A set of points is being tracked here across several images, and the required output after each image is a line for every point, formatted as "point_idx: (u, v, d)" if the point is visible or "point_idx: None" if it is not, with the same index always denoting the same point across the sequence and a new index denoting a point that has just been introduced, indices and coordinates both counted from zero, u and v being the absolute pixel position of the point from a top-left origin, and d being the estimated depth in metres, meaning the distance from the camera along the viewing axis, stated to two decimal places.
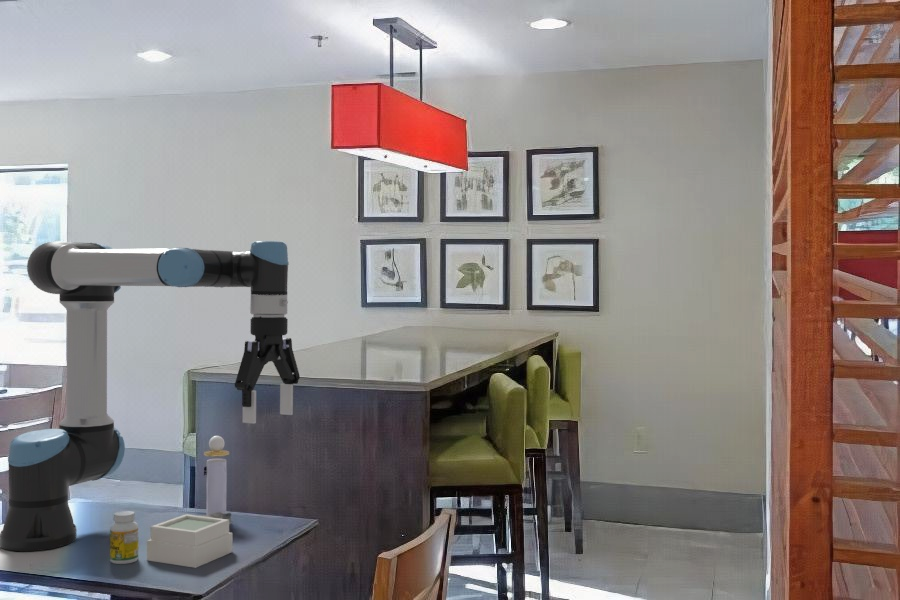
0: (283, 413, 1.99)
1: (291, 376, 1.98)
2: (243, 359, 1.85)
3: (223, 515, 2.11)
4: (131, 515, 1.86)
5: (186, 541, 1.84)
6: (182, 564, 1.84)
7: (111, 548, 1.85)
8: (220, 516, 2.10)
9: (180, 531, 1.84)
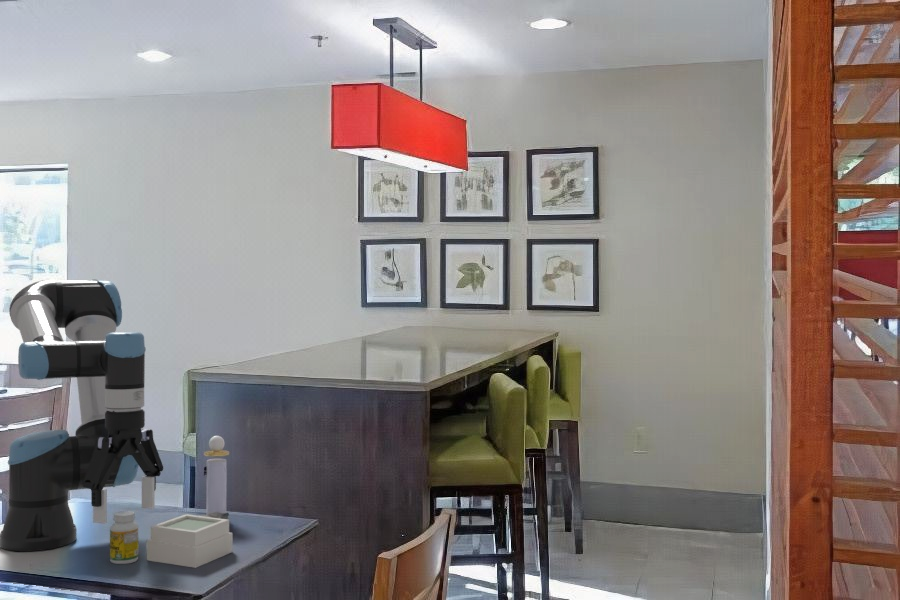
0: (144, 507, 1.92)
1: (152, 468, 1.92)
2: (93, 457, 1.79)
3: (221, 514, 2.11)
4: (131, 515, 1.86)
5: (186, 541, 1.84)
6: (182, 564, 1.84)
7: (111, 548, 1.85)
8: (218, 516, 2.11)
9: (180, 531, 1.84)
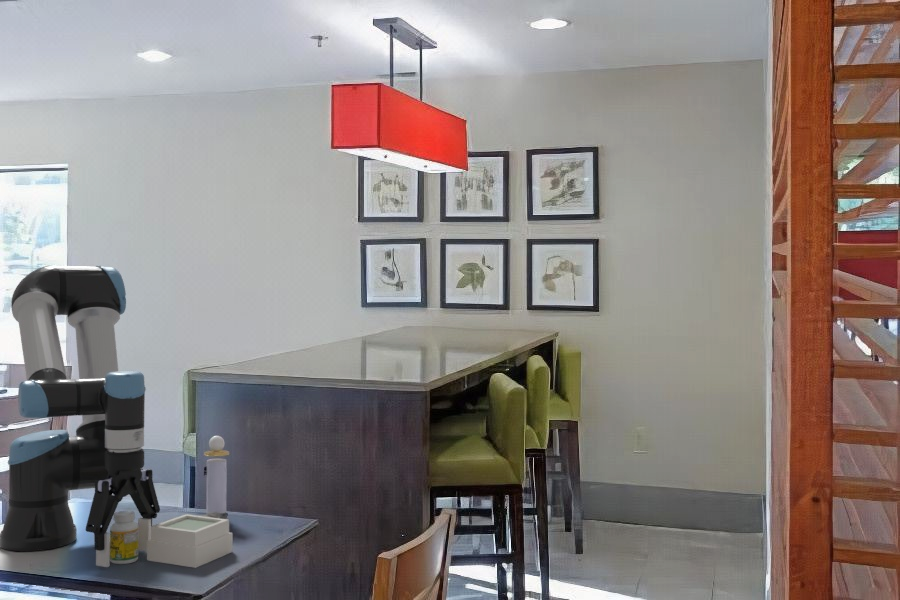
0: (141, 549, 1.92)
1: (149, 510, 1.92)
2: (94, 500, 1.80)
3: (220, 514, 2.11)
4: (131, 515, 1.86)
5: (186, 541, 1.84)
6: (182, 564, 1.84)
7: (111, 548, 1.85)
8: (217, 516, 2.11)
9: (180, 531, 1.84)
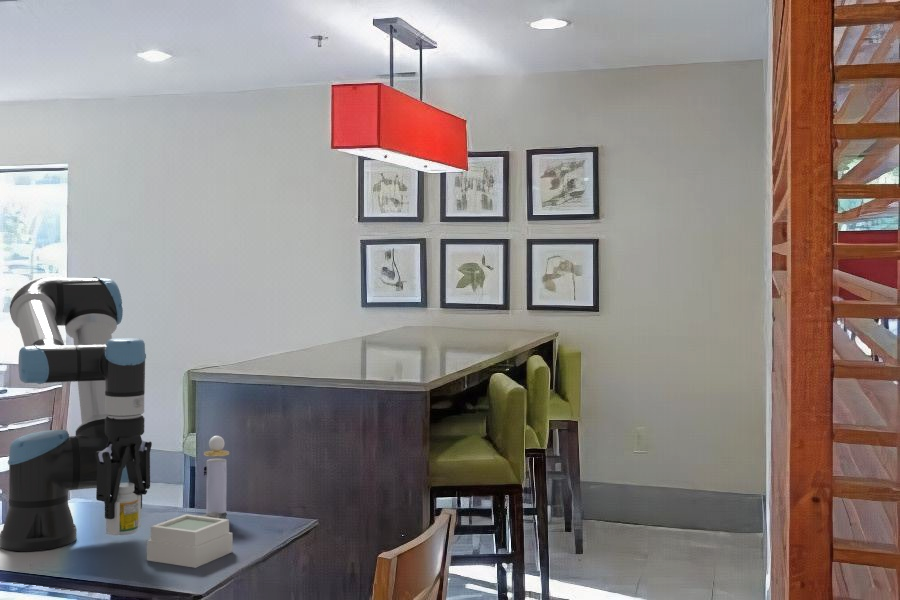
0: None
1: (140, 485, 1.90)
2: (98, 471, 1.81)
3: (220, 514, 2.11)
4: (131, 487, 1.86)
5: (186, 541, 1.84)
6: (182, 564, 1.84)
7: None
8: (216, 516, 2.11)
9: (180, 531, 1.84)
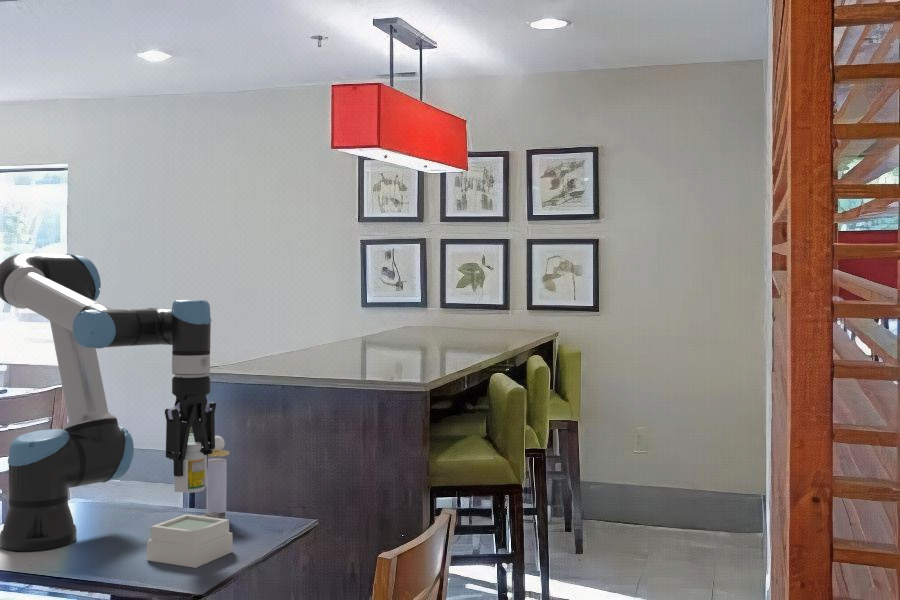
0: None
1: (206, 445, 1.93)
2: (167, 429, 1.84)
3: (219, 514, 2.11)
4: (198, 445, 1.89)
5: (186, 541, 1.84)
6: (182, 564, 1.84)
7: None
8: (215, 515, 2.11)
9: (180, 531, 1.84)
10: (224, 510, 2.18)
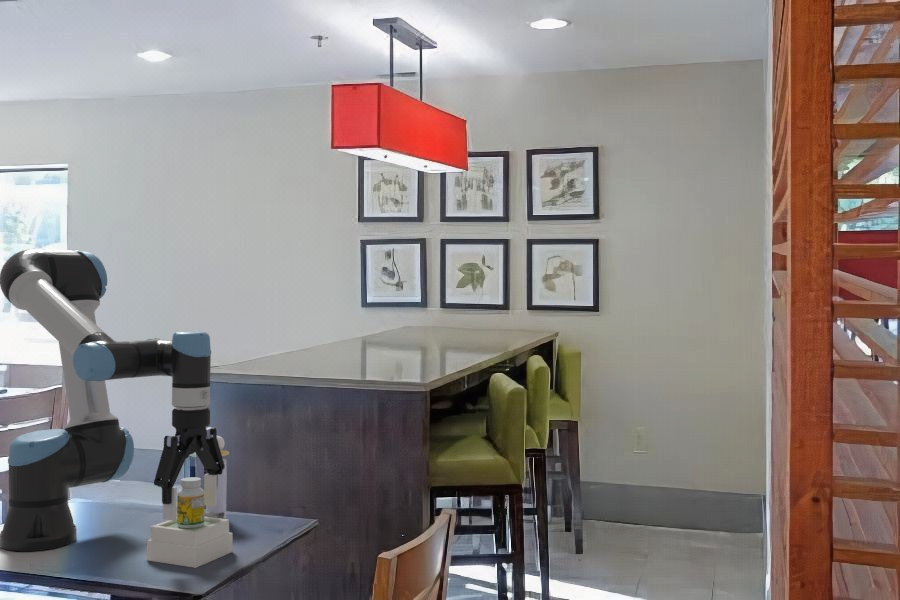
0: (207, 504, 1.96)
1: (215, 467, 1.96)
2: (162, 455, 1.83)
3: (217, 514, 2.11)
4: (198, 481, 1.89)
5: (186, 541, 1.84)
6: (182, 564, 1.84)
7: (178, 513, 1.88)
8: (214, 516, 2.11)
9: (180, 531, 1.84)
10: (224, 510, 2.18)
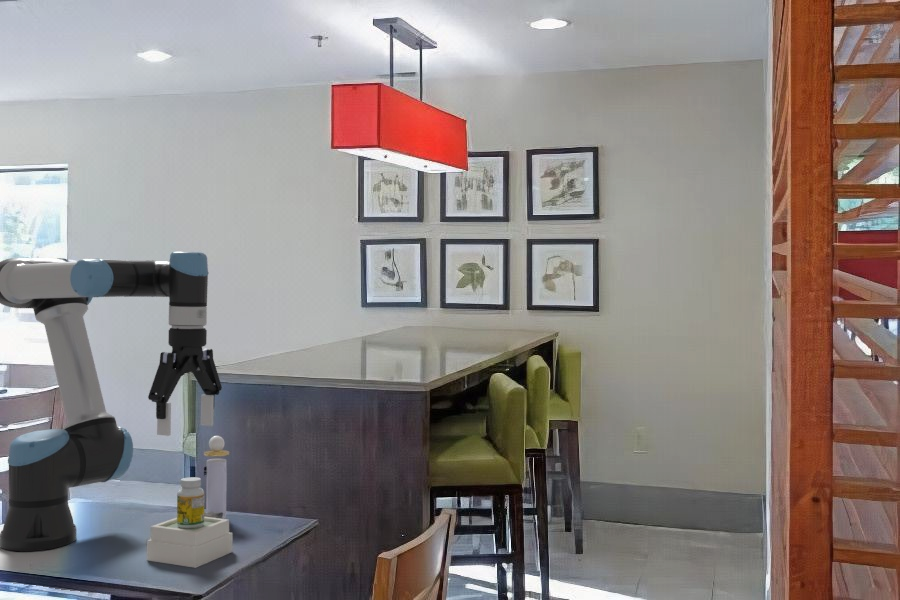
0: (203, 424, 1.97)
1: (212, 387, 1.97)
2: (158, 371, 1.84)
3: (216, 514, 2.11)
4: (198, 481, 1.89)
5: (186, 541, 1.84)
6: (182, 564, 1.84)
7: (178, 513, 1.88)
8: (213, 516, 2.11)
9: (180, 531, 1.84)
10: (224, 510, 2.18)
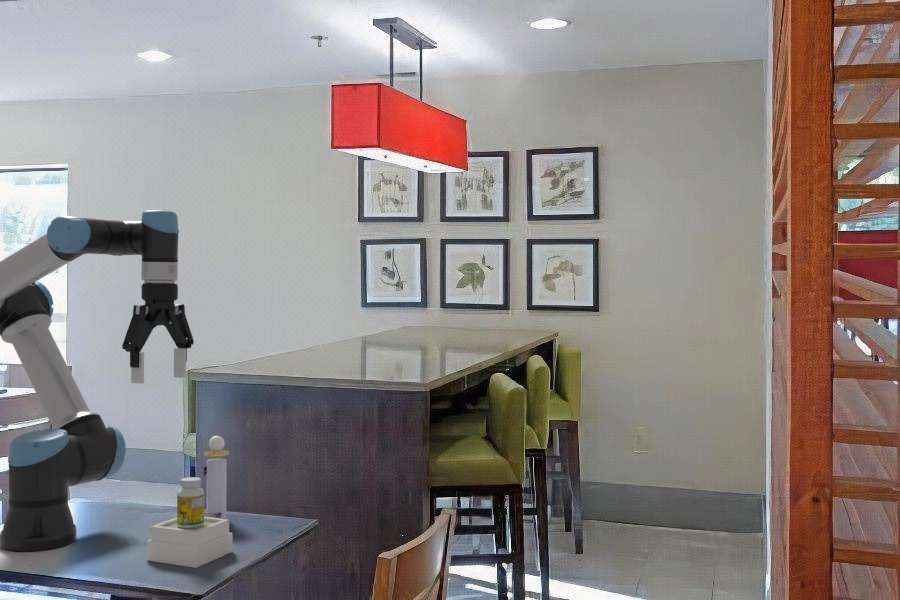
0: (176, 376, 2.08)
1: (184, 341, 2.07)
2: (131, 322, 1.95)
3: (215, 514, 2.11)
4: (198, 481, 1.89)
5: (186, 541, 1.84)
6: (182, 564, 1.84)
7: (178, 513, 1.88)
8: (212, 516, 2.11)
9: (180, 531, 1.84)
10: (224, 510, 2.18)
